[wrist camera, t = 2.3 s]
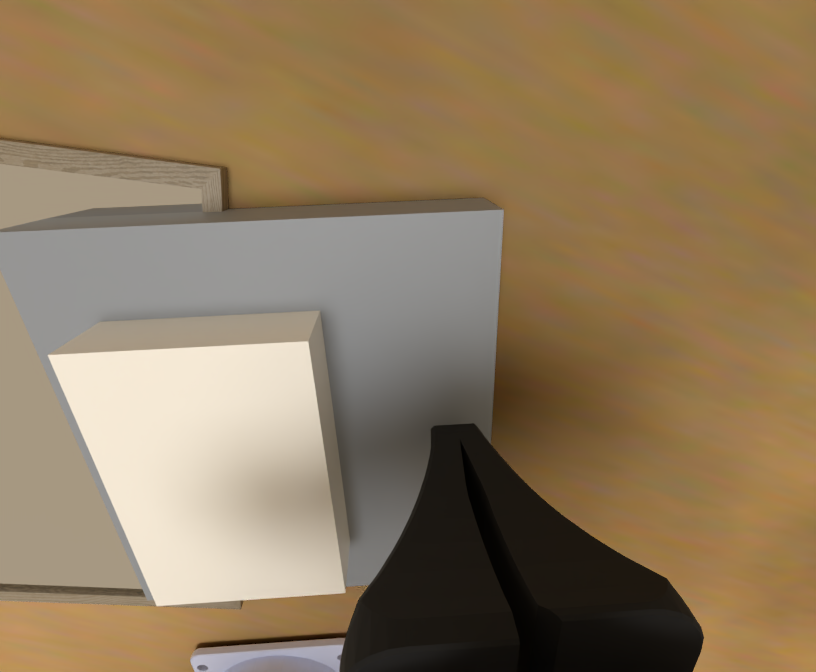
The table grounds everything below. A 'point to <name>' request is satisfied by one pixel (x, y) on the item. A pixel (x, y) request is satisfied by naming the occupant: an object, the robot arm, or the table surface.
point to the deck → (294, 292)
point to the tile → (216, 451)
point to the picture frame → (33, 393)
